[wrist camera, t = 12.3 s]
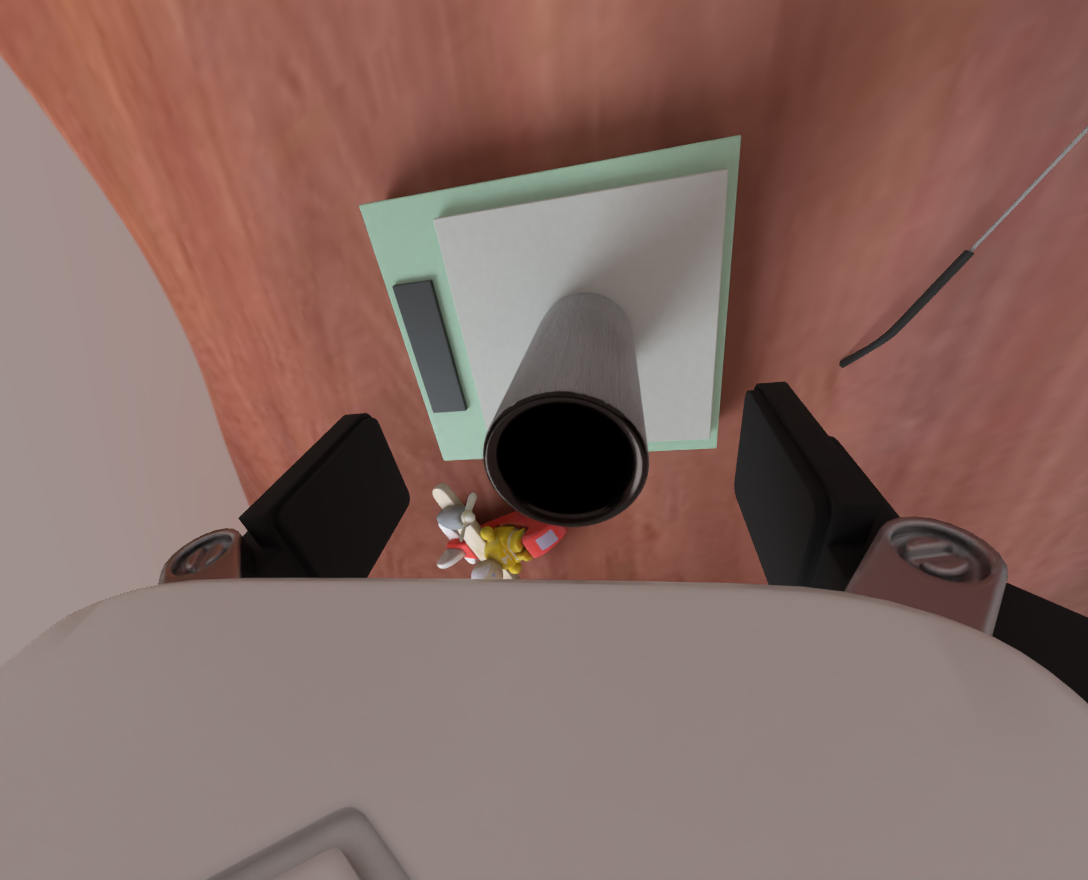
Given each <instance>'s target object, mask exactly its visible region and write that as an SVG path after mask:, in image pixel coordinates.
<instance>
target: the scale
mask: <svg viewBox="0 0 1088 880" xmlns="http://www.w3.org/2000/svg"><path fill="white" fill-rule="evenodd" d="M740 144H741V135H736V136H731V137H726V138H720V139H715V140H709V141H704V142H698V143H693V144H687V145H682V146H677V147H671V148H666V149H660V150H655V151H649V152H644V153H638V154H633V155H627V156H622V157H617V158H611V159H606V160H600V161H595V162H589V163H584V164H578V165H573V166H568V167H562V168H557V169H551V170H546V171H540V172H535V173H529V174H524V175H519V176H513V177H508V178H502V179H497V180H491V181H486V182H480V183H475V184H470V185H464V186H459V187H453V188H448V189H442V190H437V191H431V192H426V193H421V194H415V195H410V196H404V197H399V198H393V199H388V200H382V201H377V202H372V203H366V204H361V205H359V207H360V210H361V213H362V216H363V219H364V222H365V225H366V228H367V231H368V234H369V237H370V240H371V243H372V246H373V249H374V252H375V255H376V258H377V261H378V264H379V267H380V270H381V273H382V276H383V279H384V282H385V285H386V288H387V291H388V294H389V297H390V300H391V303H392V306H393V309H394V312H395V315H396V318H397V321H398V324H399V327H400V330H401V333H402V336H403V339H404V342H405V345H406V348H407V351H408V354H409V357H410V360H411V363H412V366H413V369H414V372H415V375H416V378H417V381H418V384H419V387H420V390H421V393H422V396H423V399H424V402H425V405H426V408H427V411H428V414H429V417H430V420H431V423H432V426H433V429H434V432H435V435H436V438H437V441H438V445H439V448H440V451H441V454H442V457H443V460H444V461H445V460H467V459H483V446H484V440H485V437H486V434H487V431H488V429H489V427H490V425H491V422H492V420H493V418H494V416H495V414H496V412H497V410H498V408H499V406H500V404H501V402H502V400H503V398H504V396H505V394H506V392H507V390H508V388H509V386H510V384H511V381H512V379H513V377H514V375H515V373H516V371H517V369H518V367H519V365H520V363H521V361H522V359H523V357H524V355H525V353H526V351H527V349H528V347H529V345H530V343H531V341H532V339H533V337H534V335H535V332H536V330H537V328H538V326H539V324H540V322H541V320H542V319H543V317H544V316H545V314H546V313H547V312H548V310H549V309H550V308H551V307H552V306H553V305H554V304H555V303H557V302H558V301H560V300H561V299H563V298H565V297H567V296H570V295H574V294H578V293H593V294H598V295H601V296H604V297H606V298H608V299H610V300H612V301H613V302H614V303H616V304H617V305H618V306H619V307H620V308H621V309H622V310H623V311H624V313H625V314H626V316H627V318H628V320H629V322H630V325H631V328H632V331H633V337H634V344H635V352H636V360H637V367H638V375H639V383H640V390H641V398H642V406H643V414H644V421H645V429H646V437H647V444H648V451H665V450H687V449H709V448H716V447H717V436H718V423H719V411H720V398H721V385H722V373H723V360H724V347H725V335H726V322H727V309H728V297H729V284H730V271H731V259H732V246H733V233H734V221H735V208H736V195H737V182H738V170H739V157H740Z"/></svg>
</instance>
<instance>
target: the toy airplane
mask: <svg viewBox="0 0 1088 880" xmlns="http://www.w3.org/2000/svg"><path fill="white" fill-rule="evenodd" d="M432 493H433V497H434V498H435V500H436V501H437V503H438V504H439V505H440V507H441V508H442V511H441V512H440V513H439V514H438V515H437V521H438V522H439V523H438V525H439V527H440V528H441V530H442V531H443V532H444V533H445V534H446V536H447V537H448V538H449V539H450V541H449V542H448V544H447V546H446V547H447V550H446V551H445V552H444V554H443V555H442V556H441V557H440V559H439V560H438V562H437V565H438V566H439V568H443V569H445V568H448V567H450V566H452V565H453V564H455V563H456V562H458V561H459V560H460V559H462V558H463V557H464V558H465V559H466V560H467V561H468V562H469V563H471V564H475V563H476V561H477V560H478V559H480V560H481V562H479V563H478V564H477V565H476V566H475V567H474V569H473V571H472V574H471V579H521V578H520V577H519V576H518V575H517V573H519V572H520V571H521V564H520V562H521V561H522V560H525V561H529V560H531V559H532V558H533V557H534V558H537V557H540V556H542V555H543V554H545V553H546V552H548V551H549V550H550V549H551V548H553V547H554V546H555V545H556V544H557V543H558V542H559V541H560V540H561V539H562V538H563V537H564V536H565V534H566V533H567V527H561V526H554V525H549V524H545V523H542V522H539V521H536V520H533V519H531V518H529V517H527V516H525V515H523V514H521V513H520V512H518V511H515V512H513V513H510V514H507V515H505V516H502V517H500V518H497V519H495V520H492V521H490V522H487V523H485V524H483V525H479V524H478V522H477V521H476V520H475V515H474V514H473V512H472V509H473V507H474V504H475V502H476V500H477V496H476V494H475V493H473V492H472V493H471V494H470V495H469V496H468V499H467V503H466V506H464V505H463V503H462V502H461V501H460V499H459V498H458V497H457V496H456V494H455V493H454V492H453V491H452V489H451V488H450V487H449V486H448V485H446V484H444V483H440V484H438V485H437V486H436V487H435V488H434V489H433V492H432Z"/></svg>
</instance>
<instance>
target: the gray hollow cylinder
mask: <svg viewBox="0 0 1088 880" xmlns="http://www.w3.org/2000/svg"><path fill="white" fill-rule="evenodd" d="M483 460H484V466H485V470H486V473H487V476H488V478H489V480H490V482H491V484H492V486H493V487H494V489H495V490H496V492H497V493H498V494H499V495H500V497H501V498H502V499H503V500H504V501H505V502H506V503H508V504H509V505H510V506H511V507H512V508H514V509H515V510H517V511H518V512H520V513H521V514H523V515H525V516H527V517H529V518H531V519H533V520H536V521H539V522H542V523H545V524H549V525H554V526H561V527H581V526H588V525H593V524H597V523H601V522H603V521H606V520H608V519H611V518H613V517H615V516H616V515H618V514H620V513H621V512H623V511H624V510H625V509H626V508H628V507H629V506H630V505H631V504H632V503H633V502H634V501H635V499H636V498H637V497H638V496H639V494H640V493H641V491H642V489H643V487H644V485H645V482H646V479H647V476H648V471H649V453H648V444H647V437H646V429H645V421H644V414H643V406H642V398H641V390H640V383H639V375H638V367H637V360H636V352H635V344H634V337H633V331H632V328H631V325H630V322H629V320H628V318H627V316H626V314H625V313H624V311H623V310H622V309H621V308H620V307H619V306H618V305H617V304H616V303H614V302H613V301H612V300H610V299H608V298H606V297H604V296H601V295H598V294H593V293H578V294H574V295H570V296H567V297H565V298H563V299H561V300H560V301H558V302H557V303H555V304H554V305H553V306H552V307H551V308H550V309H549V310H548V312H547V313H546V314H545V316H544V317H543V319H542V320H541V322H540V324H539V326H538V328H537V330H536V332H535V335H534V337H533V339H532V341H531V343H530V345H529V347H528V349H527V351H526V353H525V355H524V357H523V359H522V361H521V363H520V365H519V367H518V369H517V371H516V373H515V375H514V377H513V379H512V381H511V384H510V386H509V388H508V390H507V392H506V394H505V396H504V398H503V400H502V402H501V404H500V406H499V408H498V410H497V412H496V414H495V416H494V418H493V420H492V422H491V425H490V427H489V429H488V431H487V434H486V437H485V440H484V446H483Z"/></svg>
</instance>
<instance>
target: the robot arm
mask: <svg viewBox="0 0 1088 880" xmlns="http://www.w3.org/2000/svg"><path fill="white" fill-rule="evenodd" d="M734 488H735V495H736V498H737V501H738V504H739V506H740V509H741V512H742V514H743V517H744V520H745V522H746V525H747V528H748V530H749V533H750V536H751V538H752V541H753V544H754V546H755V549H756V552H757V554H758V557H759V560H760V562H761V565H762V568H763V570H764V573H765V576H766V578H767V581H768V584H769V585H760V584H741V583H711V582H668V581H607V580H540V579H442V578H367V577H368V575H369V573H370V572H371V570H372V568H373V566H374V565H375V563H376V561H377V559H378V558H379V556H380V554H381V552H382V551H383V549H384V547H385V545H386V544H387V542H388V540H389V539H390V537H391V535H392V533H393V532H394V530H395V528H396V526H397V525H398V523H399V521H400V519H401V518H402V516H403V514H404V513H405V511H406V509H407V507H408V505H409V501H410V496H409V492H408V490H407V487H406V485H405V483H404V480H403V478H402V476H401V473H400V471H399V469H398V467H397V464H396V462H395V460H394V457H393V455H392V453H391V450H390V448H389V446H388V443H387V441H386V439H385V437H384V434H383V432H382V430H381V427H380V425H379V423H378V421H377V420H376V419H374V418H372V417H371V416H370V415H369V414H367V413H363V414H350V415H345V416H343V417H342V418H341V419H340V420H339V421H338V422H337V423H336V424H335V425H334V426H333V427H332V428H331V429H330V430H329V431H328V432H326V433H325V434H324V435H323V436H322V437H321V438H320V439H319V440H318V441H317V442H316V443H315V444H314V445H313V446H312V447H311V448H310V449H309V450H308V451H307V452H306V453H305V454H304V455H303V456H302V457H301V458H300V459H299V460H298V461H297V462H296V463H295V464H294V465H293V466H292V467H291V468H289V469H288V470H287V471H286V472H285V473H284V474H283V475H282V476H281V477H280V478H279V479H278V480H277V481H276V482H275V483H274V484H273V485H272V486H271V487H270V488H269V489H268V490H267V491H266V492H265V493H264V494H263V495H262V496H261V497H260V498H259V499H258V500H257V501H256V502H255V503H254V504H252V505H251V506H250V507H249V508H248V509H247V510H246V511H245V512H244V513H243V514H242V515H241V516H240V517H239V520H240V521H241V522H242V524H243V525H244V526H245V527H246V529H247V530H248V531H247V532H246V534H245V535H244V536H243V537H242V536H241V534H240V533H239V532H238V531H236V530H234V529H227V528H225V529H220V530H215V531H212V532H210V533H207V534H204V535H202V536H200V537H198V538H196V539H194V540H193V541H191V542H189V543H188V544H186V545H185V546H183V547H182V548H181V549H179V550H178V551H177V552H176V553H175V554H173V555H172V556H171V558H170V559H169V560H168V561H167V562H166V563H165V565H164V567H163V569H162V571H161V575H160V579H159V583H158V585H156V586H151V587H146V588H142V589H137V590H133V591H130V592H127V593H123V594H120V595H117V596H114V597H111V598H108V599H105V600H102V601H100V602H97V603H95V604H92V605H90V606H88V607H85V608H83V609H80V610H78V611H76V612H74V613H72V614H70V615H68V616H67V617H65V618H63V619H62V620H60V621H59V622H57V623H56V624H54V625H53V626H51V627H50V628H49V629H47V630H46V631H45V632H43V633H42V634H40V635H39V636H38V637H37V638H35V639H34V640H33V641H31V642H30V643H29V644H28V645H27V646H25V647H24V648H23V649H22V650H20V651H19V652H18V653H17V654H15V655H14V656H13V657H11V658H10V659H9V660H8V661H7V662H5V663H4V664H3V665H2V666H1V667H0V880H1088V617H1085V616H1083V615H1081V614H1078V613H1076V612H1074V611H1071V610H1069V609H1067V608H1064V607H1062V606H1060V605H1057V604H1055V603H1053V602H1050V601H1048V600H1046V599H1043V598H1041V597H1039V596H1036V595H1034V594H1032V593H1029V592H1027V591H1025V590H1022V589H1020V588H1018V587H1015V586H1013V585H1011V584H1008V583H1006V582H1007V578H1008V573H1007V565H1006V564H1005V562H1004V560H1003V559H1002V557H1001V556H1000V554H999V553H998V552H997V551H996V550H995V549H994V548H992V547H991V546H990V545H989V544H988V543H987V542H986V541H984V540H982V539H981V538H979V537H977V536H976V535H974V534H973V533H971V532H969V531H967V530H965V529H962V528H960V527H957V526H955V525H953V524H950V523H946V522H943V521H939V520H935V519H931V518H923V517H899V516H898V514H897V513H896V512H895V511H894V509H893V508H892V507H891V506H890V504H889V503H888V502H887V501H886V499H885V498H884V497H883V496H882V495H881V493H880V492H879V491H878V490H877V488H876V487H875V486H874V485H873V483H872V482H871V481H870V480H869V478H868V477H867V476H866V475H865V473H864V472H863V471H862V470H861V469H860V467H859V466H858V465H857V464H856V462H855V461H854V460H853V459H852V457H851V456H850V455H849V454H848V452H847V451H846V450H845V449H844V447H843V446H842V445H841V444H840V443H839V441H838V440H837V439H835V438H834V437H831V436H828V435H827V433H826V432H825V431H824V430H823V428H822V427H821V426H820V424H819V423H818V422H817V421H816V419H815V418H814V417H813V416H812V414H811V413H810V412H809V410H808V409H807V408H806V407H805V405H804V404H803V403H802V402H801V400H800V399H799V398H798V396H797V395H796V394H795V393H794V391H793V390H792V389H791V388H790V386H789V385H788V384H787V383H786V382H774V383H760V384H757V385H756V386H755V388H754V390H751V391H747V392H746V395H745V401H744V409H743V417H742V425H741V433H740V441H739V449H738V457H737V465H736V474H735V482H734Z"/></svg>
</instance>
